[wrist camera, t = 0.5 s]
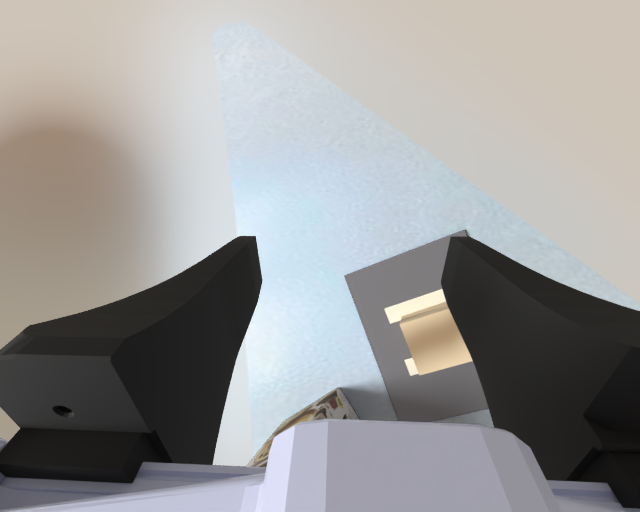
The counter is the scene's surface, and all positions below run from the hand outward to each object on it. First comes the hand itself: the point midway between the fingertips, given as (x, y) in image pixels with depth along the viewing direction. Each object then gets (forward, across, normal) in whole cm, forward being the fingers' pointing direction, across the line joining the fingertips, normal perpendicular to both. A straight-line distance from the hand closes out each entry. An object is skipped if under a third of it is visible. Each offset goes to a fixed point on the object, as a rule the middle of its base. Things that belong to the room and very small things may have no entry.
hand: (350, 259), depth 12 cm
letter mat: (+15, -10, +19) cm, 26 cm away
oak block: (+15, -10, +18) cm, 26 cm away
